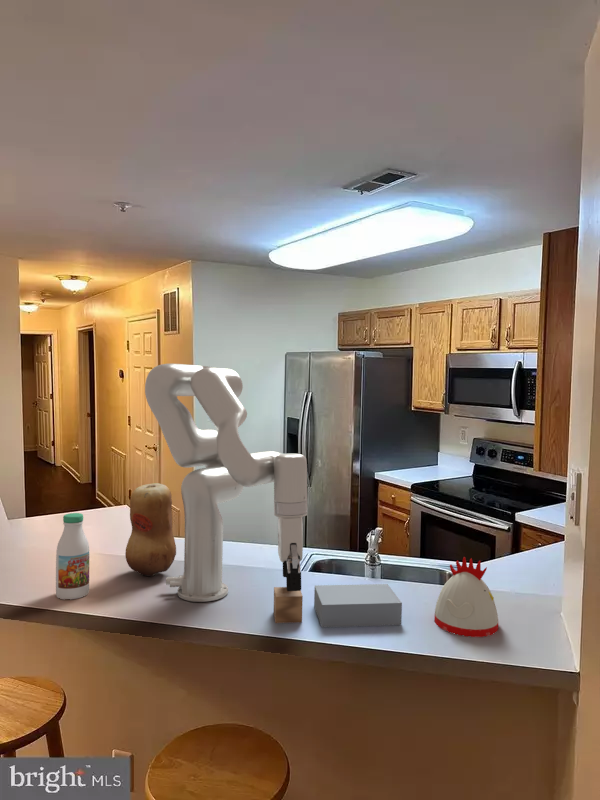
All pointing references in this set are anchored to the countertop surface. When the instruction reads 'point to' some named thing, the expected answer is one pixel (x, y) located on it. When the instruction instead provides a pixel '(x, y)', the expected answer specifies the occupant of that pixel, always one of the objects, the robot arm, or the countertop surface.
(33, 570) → the countertop surface
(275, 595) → the walnut cube
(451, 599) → the kitchen timer
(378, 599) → the block
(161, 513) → the butternut squash
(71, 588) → the milk bottle
